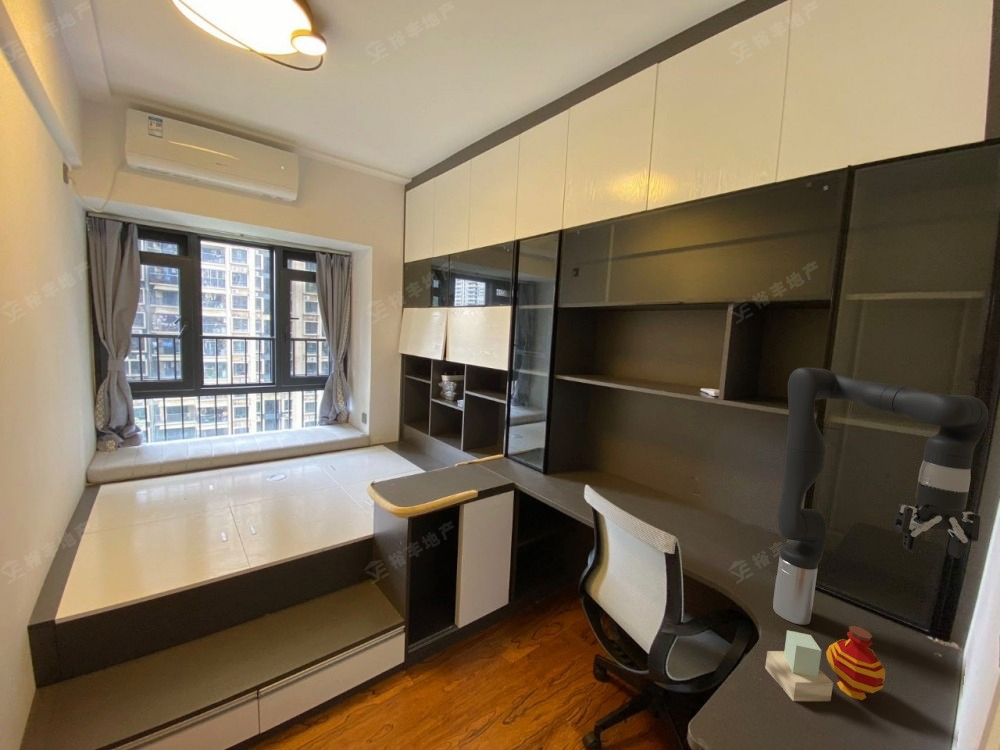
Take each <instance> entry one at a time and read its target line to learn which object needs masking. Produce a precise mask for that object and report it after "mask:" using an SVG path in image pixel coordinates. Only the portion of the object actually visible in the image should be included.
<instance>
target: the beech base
mask: <svg viewBox="0 0 1000 750" xmlns="http://www.w3.org/2000/svg"><path fill="white" fill-rule="evenodd" d="M784 651H785V650H767V651H766V652H767V653H766V659H765V666H764V668H765V670H766V671H767V673H768V674H770V676H771V677H772V678H773V680H775V681H776V683H777V684H778V685H779V687H781V688H783V689H782V690H783V691H784V692H785V693H786V695H788V697H789V698H790V700H792V701H793V702H831V700H832V692H833V687H834V682H833V681H832V680H831V679H830V678H829V677H828V676H827V675H826V674H825V673H824V672H823V670H821V669H820V668H819V672H818V678H813V677H809V676H805V675H800V674H796V673H793V672H792V670H791V669H790V667H789V665H788V663H787V661H786V660H785V658H784Z"/></svg>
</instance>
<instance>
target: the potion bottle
mask: <svg viewBox="0 0 1000 750" xmlns="http://www.w3.org/2000/svg"><path fill="white" fill-rule="evenodd" d="M848 630H849V631H847V632H846V634H847V635H846V636H847V637H848V639H844V638H842V639H839V640H837V641H835V642H834V643H832V644H830V645H829V646H828V648H827V650H826V659H827V662H828V664H829V667H830V669H831V670H833V672H834V673H835V675H836V677H837V678H838V680H839V681H838V682H837V683H836V684H837V686H838V687H839V689H840V691H842V692H843V693H845V695H847V696H848V697H850V698H853V699H856V700H861V701H863V700H865V699H866V698H867V696H866V694H868V693H870V694H874V693H876V692H879V691H880V690H882V689H883V687H884V686H885V683H884V682H885V681H886V670H885V668H884V666H883V665H882V663H881V661H880V659H879V658H878V656H877V655H876V654H875V652H874V651H873V649H871V648H869V647H871V646H872V645H873V642H872V640H871V639H872V638H873V635H872V634H871V632H869V631H868V630H866V629H864V628H862V627H860V626H857V625H856V626H855V625H850V626H848Z"/></svg>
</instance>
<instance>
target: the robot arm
mask: <svg viewBox="0 0 1000 750" xmlns="http://www.w3.org/2000/svg"><path fill="white" fill-rule="evenodd" d="M816 400H840V401H848V402H853V403H857V404H859V405H863V406H865V407H868V408H869V409H873V410H876V411H880V412H884V413H889V414H893V415H897V416H901V417H908V418H911V419H913V420H915V421H919V422H921V423H924V424H928V425H932V426H937V427H939V430H938V432H937V433H936V435H933V436H930V437H929V438H927V440H926V443H925V445H924V452H923V459H922V462H921V465H920V468H919V473H918V479H917V486H916V491H915V500H916V504H915V505H914V506H911V505H907V504H904V503H899V504H898V506H897V510H896V515H895V518H894V523H893V527H894V528H895V529H897V530H898V531H901V532H902V533H903V535H902V536H903V537H902V546H903V548H904V549H905V550H907V551H908V552H910V553H916V552H917V551H916V550H917V543H918V537H917V536H918V535H920V534H922V532H927V531H929V529H931V530H939V529H940V530H943V531H947V532H948V533H949V534H950V536H951V537H950V538H949V543H948V549H947V553H948V554H949V555H950V556H952V557H954V558H956V559H960V558H961V557H962V556H963V555H964V552H965V548H966V547H965V546H966V543H968V542H971V541H973V542H977V541H979V535H980V527H981V526H980V525H981V515H979V514H976V513H974V512H972V511H970V510H966V508H967V502H968V497H969V490H970V486H971V485H970V484H971V468H972V463H973V456H974V449H975V448H976V445H977V444H978V442H979V441H980V440H981V437H982V436H983V433H984V431H985V429H986V427H987V425H988V421H989V410H988V407H987V405H986V403H984V401H982V400H981V399H979V398H978V397H976V396H972V395H966V394H965V395H964V394H963V395H962V394H943V393H934V392H929V391H928V392H926V391H923V390H921V389H918V388H915V387H911V386H905V385H899V384H898V385H897V384H893V383H892V384H891V383H887V382H886V383H885V382H877V381H869V380H863V379H858V378H853V377H849V376H847V375H843V374H840V373H838V372H835V371H831V370H828V369H827V368H826V369H825V368H820V367H819V368H818V367H798V368H796V369H795V370H793V371H792V372H791V374H790V376H789V377H788V382H787V402H788V403H787V404H788V406H787V407H788V419H787V420H788V421H787V440H786V446H785V456H784V457H785V459H784V460H785V461H784V462H785V463H784V475H783V484H782V491H781V495H780V500H779V503H778V505H779V506H778V510H777V518H776V519H777V520H776V521H777V527H778V528H777V529H778V532H779V533H780V535H781V536H782V537H783V538H784V539H786V540H789V541H790V540H791V541H792V542H790V543H786V544H783V545H782V546H781V547H780V551H779V557H778V558H779V559H778V565H777V566H778V567H777V573H776V574H777V575H776V576H775V577H776V578H775V585H774V590H773V591H774V594H773V599H772V603H773V606H772V607H773V608H772V609H773V611H774V612H775V614H777V615H778V616H779V617H780V618H782V619H784V620H785V621H788V622H790V623H793V624H796V625H802V626H803V625H809V624H810V623H811V618H812V612H813V605H814V599H815V590H816V584H817V583H816V582H817V576H818V568H819V564H820V562H821V560H822V559H823V555H824V551H825V545H826V541H827V537H828V525H827V524H828V523H827V520H826V519H825V516H824V515H823V514H822V513H821V512H820V511H819V510H816V509H813V508H812V509H811V508H803V505H802V504H803V502H804V501H803V500H804V497H805V495H806V493H808V492H807V491H809V489H810V488H811V486H812V485H813V484H814V483H815V482H816V481H817V480H818V478H819V477H820V476H821V474H822V473H823V471H824V469H825V465H826V464H825V461H826V448H827V447H826V442H825V440H824V436H823V435H822V433H821V430H820V429H819V427H818V425H817V421H816V416H815V409H816V408H815V407H816ZM960 521H962V522H961V526H960V524H959V522H960Z"/></svg>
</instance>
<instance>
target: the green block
mask: <svg viewBox="0 0 1000 750" xmlns="http://www.w3.org/2000/svg"><path fill="white" fill-rule="evenodd" d="M783 651H784V658H785V660H786V661H787V663H788V665H789V667H790V669H791V670H792V672H793V673H796V674H800V675H805V676H809V677H813V678H818V672H819V669H820V664H821V657H822V649H821V648H820V646H819V645H818V644H817V642H816V640H814V638H813V636H812V635H811V634H807V633H803V632H802V633H801V632H798V631H793V630H788V629H787V630H786V635H785V644H784V650H783Z"/></svg>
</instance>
